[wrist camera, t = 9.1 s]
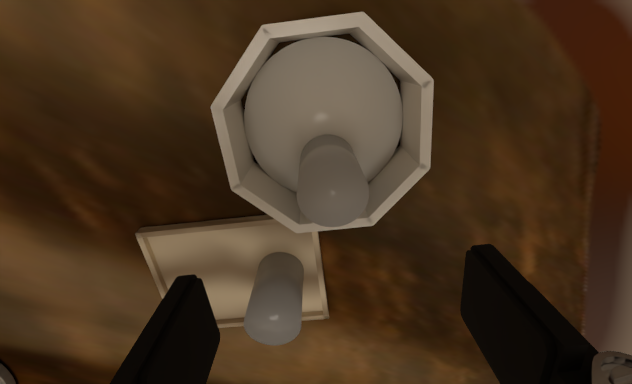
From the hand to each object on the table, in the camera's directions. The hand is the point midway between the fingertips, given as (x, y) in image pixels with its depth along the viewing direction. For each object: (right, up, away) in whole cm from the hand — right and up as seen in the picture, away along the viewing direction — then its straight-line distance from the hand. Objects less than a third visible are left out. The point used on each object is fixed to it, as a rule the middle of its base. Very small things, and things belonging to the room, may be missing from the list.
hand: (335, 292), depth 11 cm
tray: (-8, -4, +19) cm, 21 cm away
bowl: (0, +9, +13) cm, 16 cm away
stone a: (0, +6, +13) cm, 15 cm away
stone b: (-4, -4, +18) cm, 19 cm away
